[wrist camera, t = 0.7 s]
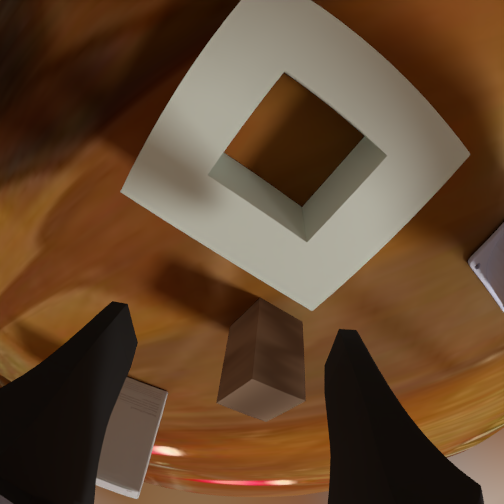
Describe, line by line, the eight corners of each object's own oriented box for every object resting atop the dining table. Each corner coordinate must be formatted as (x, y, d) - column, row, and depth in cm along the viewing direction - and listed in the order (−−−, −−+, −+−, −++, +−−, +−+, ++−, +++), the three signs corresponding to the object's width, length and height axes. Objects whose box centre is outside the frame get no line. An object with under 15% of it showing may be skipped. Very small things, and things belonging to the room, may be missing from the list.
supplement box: (107, 367, 30) (67, 465, 19) (169, 391, 31) (142, 494, 20) (107, 394, 34) (76, 477, 23) (161, 414, 35) (138, 501, 24)
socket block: (435, 134, 15) (470, 154, 11) (307, 269, 21) (312, 311, 17) (268, -6, 12) (265, -28, 8) (149, 166, 17) (120, 192, 14)
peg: (302, 321, 23) (305, 400, 18) (270, 347, 25) (266, 421, 19) (260, 297, 22) (252, 378, 16) (230, 326, 24) (216, 402, 18)
